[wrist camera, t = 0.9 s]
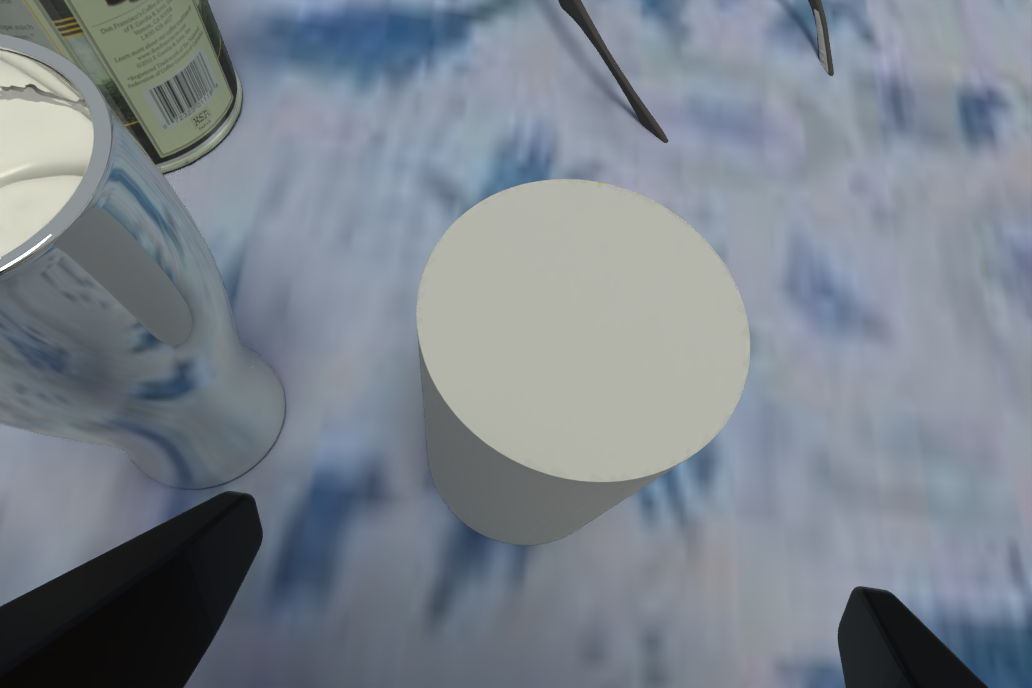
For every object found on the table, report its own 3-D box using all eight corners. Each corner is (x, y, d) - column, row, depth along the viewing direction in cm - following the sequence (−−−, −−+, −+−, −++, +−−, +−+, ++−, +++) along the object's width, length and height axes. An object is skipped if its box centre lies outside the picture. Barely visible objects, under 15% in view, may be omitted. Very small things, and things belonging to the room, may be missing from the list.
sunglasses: (690, -80, 43) (724, -155, 39) (826, 93, 40) (881, 33, 35) (496, -29, 38) (509, -109, 34) (633, 174, 35) (667, 116, 30)
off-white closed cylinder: (655, 459, 25) (814, 341, 15) (513, 590, 23) (579, 565, 12) (533, 324, 27) (592, 134, 17) (387, 429, 25) (346, 282, 14)
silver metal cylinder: (227, 534, 22) (-105, 403, 9) (73, 451, 23) (-462, 209, 9) (330, 381, 25) (202, 107, 12) (191, 312, 26) (-83, -25, 12)
